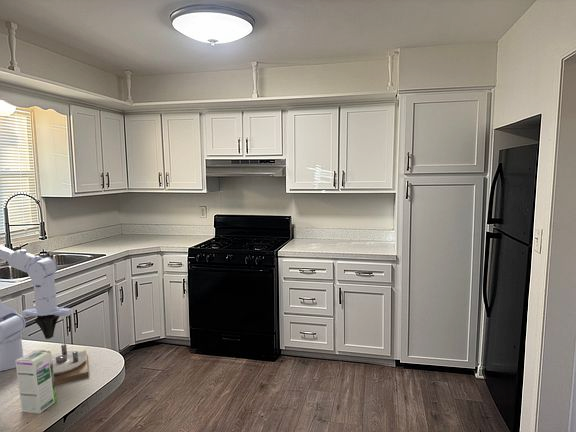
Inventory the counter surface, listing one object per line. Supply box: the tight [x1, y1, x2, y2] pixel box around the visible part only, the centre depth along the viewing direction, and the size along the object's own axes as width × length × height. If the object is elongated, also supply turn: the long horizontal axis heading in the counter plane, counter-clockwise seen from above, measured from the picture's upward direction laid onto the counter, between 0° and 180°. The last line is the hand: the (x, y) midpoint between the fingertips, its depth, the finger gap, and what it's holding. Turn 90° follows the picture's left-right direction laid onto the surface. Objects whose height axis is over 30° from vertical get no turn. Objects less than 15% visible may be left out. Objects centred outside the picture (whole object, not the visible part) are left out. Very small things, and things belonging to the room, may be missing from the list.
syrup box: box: [15, 349, 58, 415], centre depth 101 cm, size 6×6×14 cm
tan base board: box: [54, 349, 89, 386], centre depth 121 cm, size 17×14×2 cm
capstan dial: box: [51, 343, 85, 376], centre depth 121 cm, size 13×13×4 cm
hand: (49, 337), depth 124 cm, fingers closed
